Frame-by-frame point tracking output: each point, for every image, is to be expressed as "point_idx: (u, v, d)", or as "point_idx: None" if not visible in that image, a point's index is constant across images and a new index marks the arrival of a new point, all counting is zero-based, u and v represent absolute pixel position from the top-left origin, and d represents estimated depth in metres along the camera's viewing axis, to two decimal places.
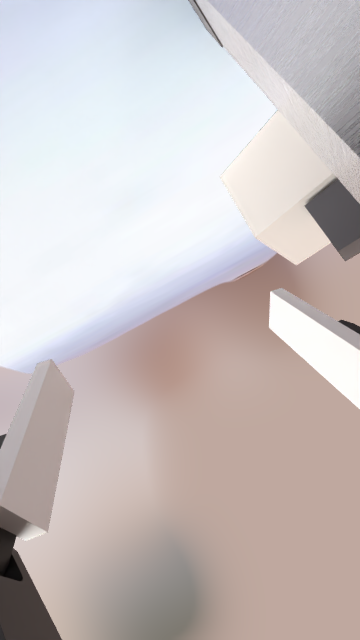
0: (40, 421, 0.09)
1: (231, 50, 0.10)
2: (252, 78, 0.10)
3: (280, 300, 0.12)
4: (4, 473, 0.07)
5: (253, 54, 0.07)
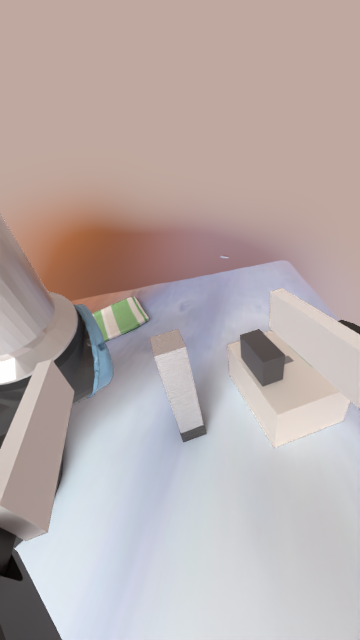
0: (40, 421, 0.09)
1: (195, 417, 0.31)
2: (198, 409, 0.31)
3: (280, 300, 0.12)
4: (4, 473, 0.07)
5: (173, 402, 0.28)
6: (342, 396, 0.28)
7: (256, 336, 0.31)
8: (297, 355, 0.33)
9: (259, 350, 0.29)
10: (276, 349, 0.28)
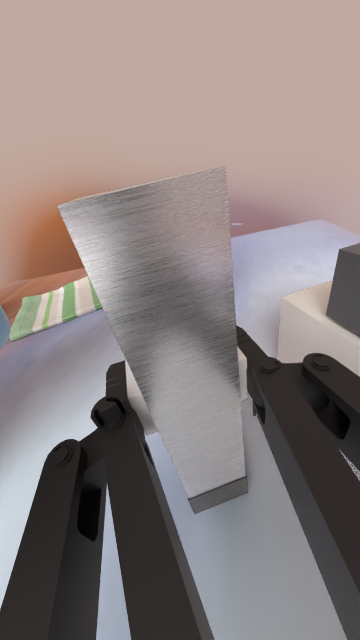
0: None
1: (228, 463, 0.12)
2: (238, 443, 0.11)
3: None
4: None
5: (168, 428, 0.09)
6: None
7: None
8: None
9: None
10: None
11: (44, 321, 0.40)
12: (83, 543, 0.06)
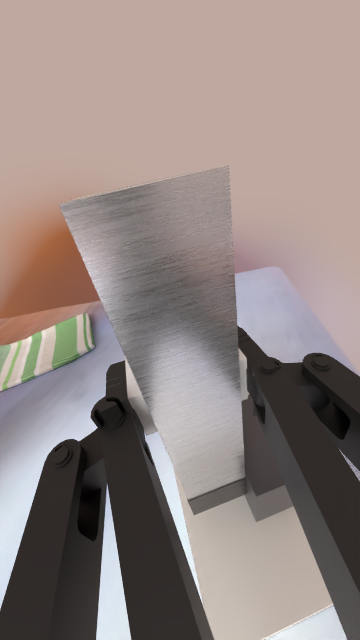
0: None
1: (228, 464, 0.12)
2: (238, 444, 0.11)
3: None
4: None
5: (169, 429, 0.09)
6: None
7: (244, 412, 0.16)
8: None
9: (249, 453, 0.14)
10: None
11: (5, 381, 0.44)
12: (83, 542, 0.06)
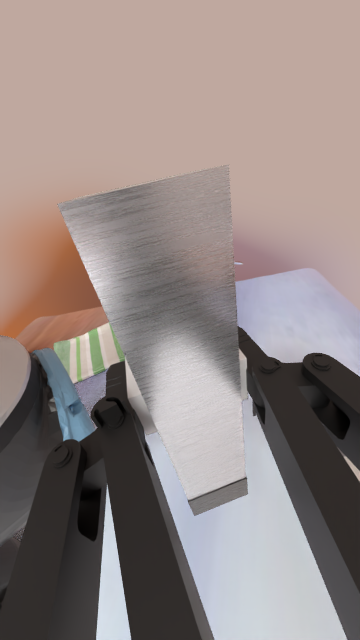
0: None
1: (228, 464, 0.12)
2: (238, 445, 0.11)
3: None
4: None
5: (169, 430, 0.09)
6: None
7: None
8: None
9: None
10: None
11: (78, 373, 0.48)
12: (83, 543, 0.06)
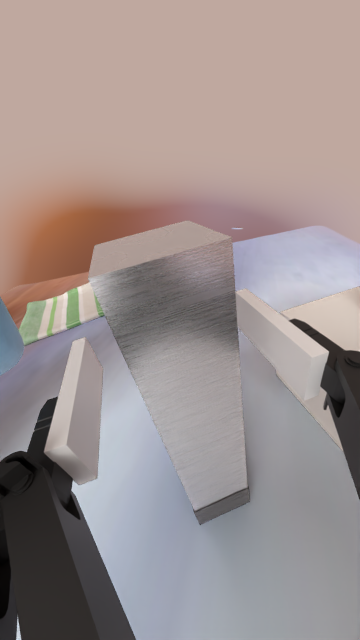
0: (84, 387, 0.10)
1: (231, 476, 0.13)
2: (240, 459, 0.12)
3: (242, 300, 0.13)
4: (64, 423, 0.08)
5: (177, 450, 0.10)
6: None
7: None
8: None
9: None
10: None
11: (49, 328, 0.41)
12: None
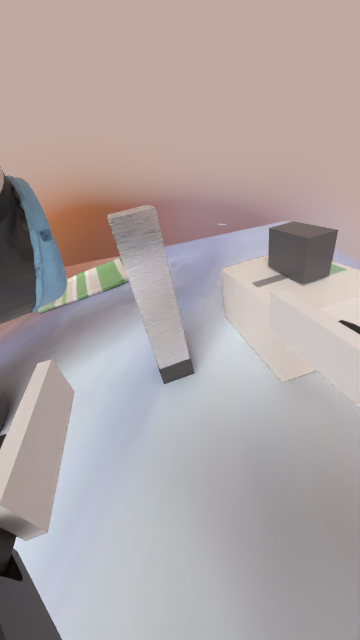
0: (40, 421, 0.09)
1: (177, 344, 0.24)
2: (180, 331, 0.23)
3: (280, 300, 0.12)
4: (4, 473, 0.07)
5: (145, 313, 0.21)
6: None
7: (291, 225, 0.24)
8: None
9: (300, 232, 0.22)
10: (323, 228, 0.21)
11: (63, 299, 0.52)
12: None
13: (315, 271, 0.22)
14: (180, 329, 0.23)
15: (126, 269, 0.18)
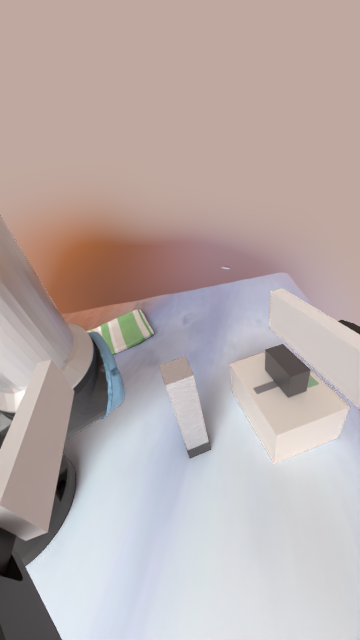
0: (40, 421, 0.09)
1: (201, 436, 0.34)
2: (203, 428, 0.33)
3: (280, 300, 0.12)
4: (4, 473, 0.07)
5: (181, 423, 0.31)
6: (336, 417, 0.30)
7: (281, 351, 0.34)
8: None
9: (286, 364, 0.32)
10: (301, 364, 0.31)
11: None
12: None
13: (296, 390, 0.32)
14: (203, 427, 0.33)
15: (172, 405, 0.28)
